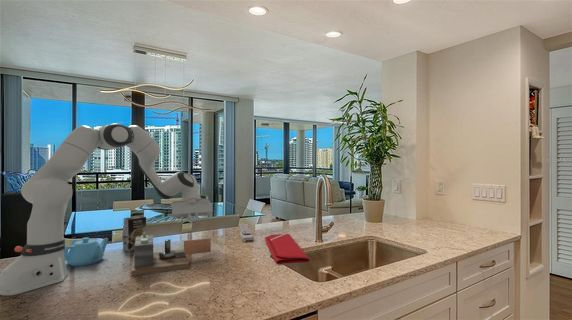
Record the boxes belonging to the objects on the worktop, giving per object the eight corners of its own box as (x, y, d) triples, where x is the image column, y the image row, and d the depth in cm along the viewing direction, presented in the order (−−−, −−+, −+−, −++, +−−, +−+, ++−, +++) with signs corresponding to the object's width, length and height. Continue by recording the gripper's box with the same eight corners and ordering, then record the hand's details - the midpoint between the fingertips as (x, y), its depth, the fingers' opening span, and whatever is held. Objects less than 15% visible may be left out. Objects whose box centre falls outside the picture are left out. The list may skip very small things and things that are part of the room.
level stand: (189, 267, 127) (189, 235, 127) (131, 275, 118) (131, 241, 118) (183, 253, 147) (183, 225, 147) (133, 259, 138) (133, 229, 138)
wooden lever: (211, 253, 140) (211, 237, 140) (159, 259, 130) (159, 242, 130) (208, 249, 146) (208, 233, 146) (158, 255, 136) (158, 238, 136)
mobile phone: (247, 223, 192) (253, 231, 168) (247, 232, 192) (253, 242, 168) (238, 223, 191) (243, 232, 167) (238, 232, 191) (243, 243, 167)
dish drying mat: (275, 265, 132) (275, 256, 132) (264, 241, 172) (264, 234, 172) (309, 263, 135) (309, 254, 135) (290, 239, 176) (290, 233, 176)
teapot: (72, 257, 139) (72, 234, 139) (108, 254, 144) (108, 232, 144) (58, 269, 125) (58, 243, 125) (99, 265, 129) (99, 240, 129)
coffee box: (128, 251, 149) (128, 219, 149) (122, 249, 153) (122, 217, 153) (146, 247, 156) (146, 216, 156) (140, 245, 160) (140, 215, 160)
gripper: (170, 197, 153) (172, 220, 144) (211, 196, 162) (214, 217, 153) (170, 205, 157) (171, 227, 148) (209, 203, 166) (212, 224, 157)
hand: (193, 222), depth 151 cm, fingers closed
